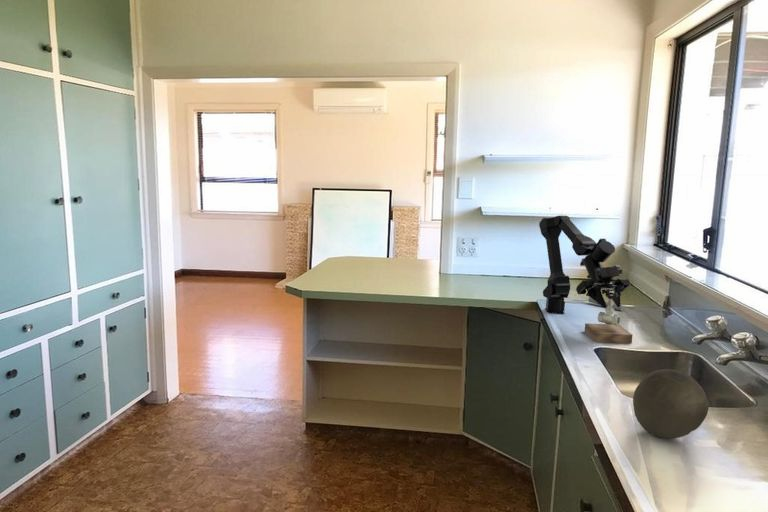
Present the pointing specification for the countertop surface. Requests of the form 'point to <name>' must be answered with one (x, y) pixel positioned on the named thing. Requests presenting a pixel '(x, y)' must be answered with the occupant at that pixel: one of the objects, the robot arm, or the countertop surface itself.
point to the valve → (610, 309)
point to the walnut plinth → (608, 333)
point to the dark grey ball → (669, 404)
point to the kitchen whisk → (599, 304)
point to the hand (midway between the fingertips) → (612, 307)
